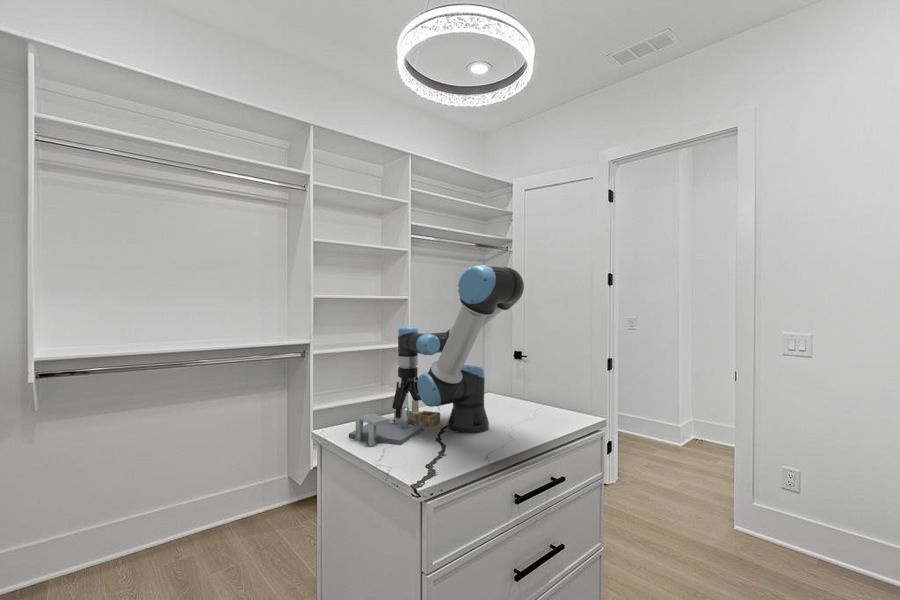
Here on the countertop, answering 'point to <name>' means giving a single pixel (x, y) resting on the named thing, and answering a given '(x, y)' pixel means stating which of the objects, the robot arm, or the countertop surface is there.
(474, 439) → the countertop surface
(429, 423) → the link
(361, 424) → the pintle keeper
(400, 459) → the countertop surface
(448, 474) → the countertop surface
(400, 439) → the base plate
